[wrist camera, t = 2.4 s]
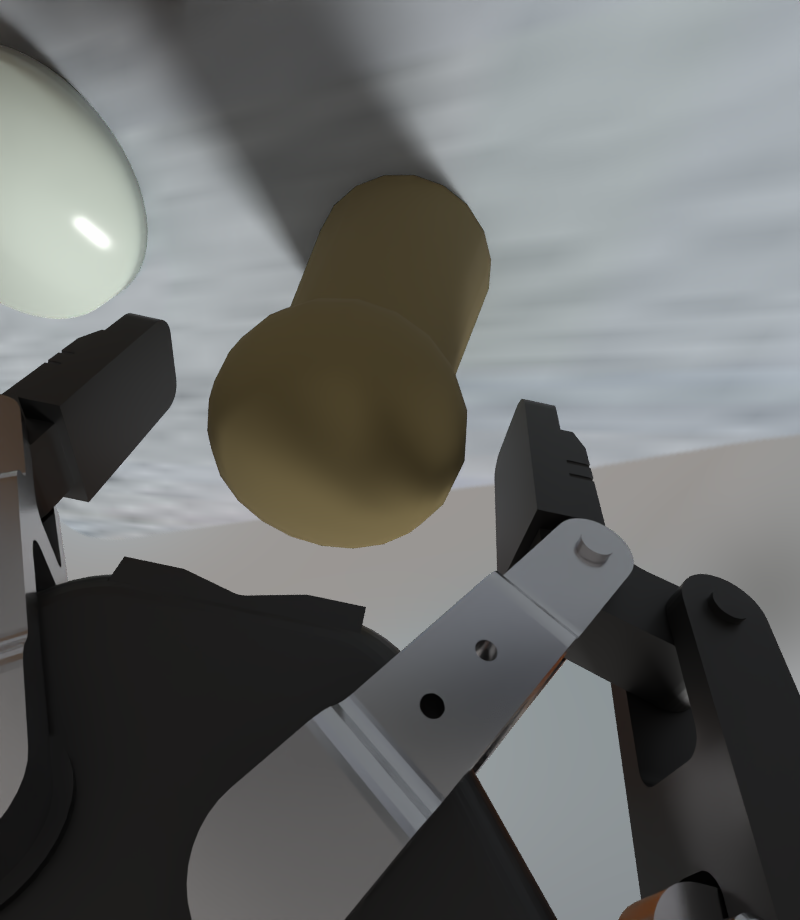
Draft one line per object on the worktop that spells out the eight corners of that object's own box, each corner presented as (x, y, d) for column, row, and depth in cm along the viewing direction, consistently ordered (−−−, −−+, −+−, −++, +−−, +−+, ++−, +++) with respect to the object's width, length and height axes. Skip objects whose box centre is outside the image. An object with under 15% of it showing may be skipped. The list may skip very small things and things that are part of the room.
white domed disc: (132, 71, 15) (96, 75, 14) (164, 319, 21) (141, 339, 19) (-131, 12, 15) (-192, 10, 14) (-32, 275, 21) (-70, 292, 19)
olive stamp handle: (293, 307, 19) (135, 520, 11) (353, 134, 15) (182, 253, 7) (438, 378, 20) (398, 623, 12) (527, 233, 16) (562, 440, 8)
